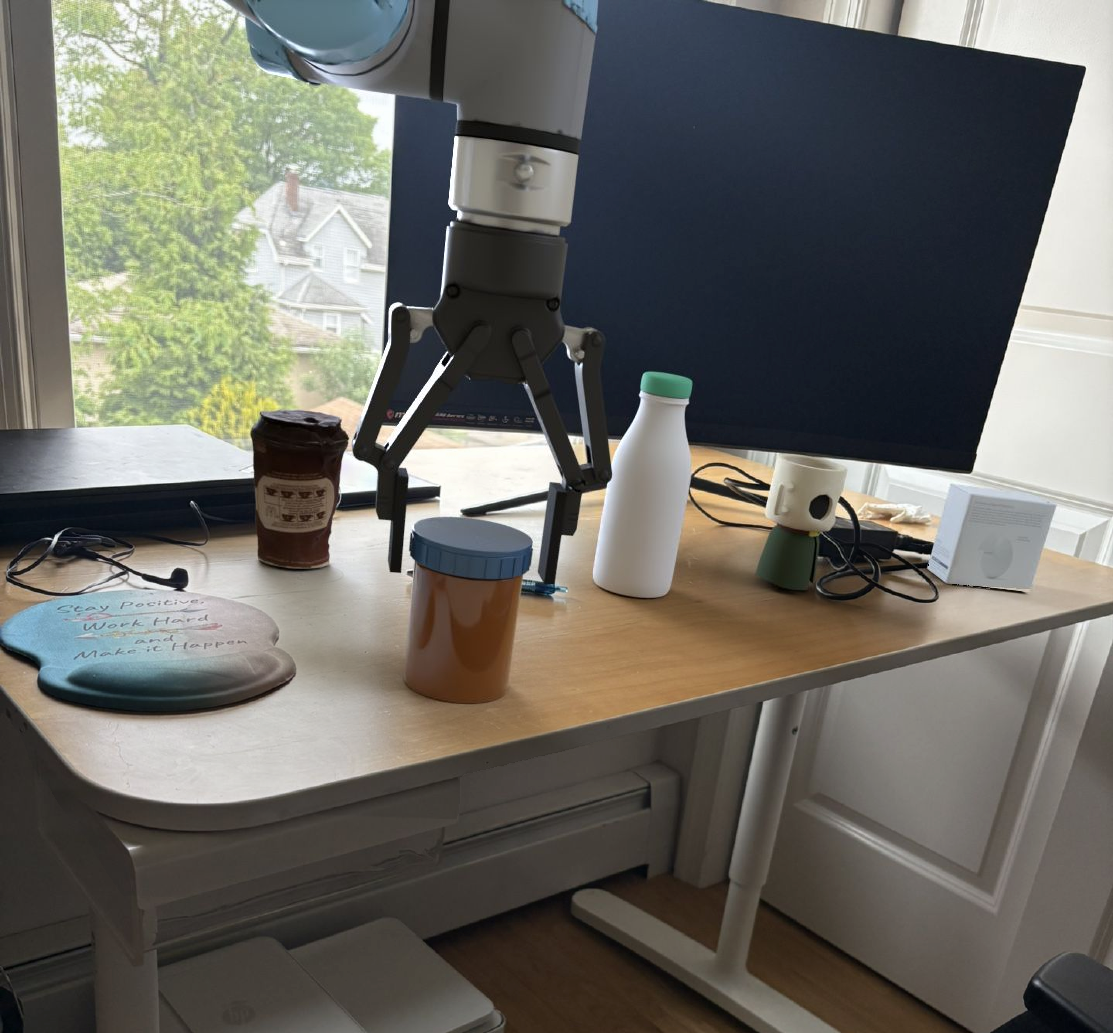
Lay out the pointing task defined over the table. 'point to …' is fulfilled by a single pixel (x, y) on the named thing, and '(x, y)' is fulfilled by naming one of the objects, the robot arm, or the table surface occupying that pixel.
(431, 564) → the jar lid
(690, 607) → the table surface
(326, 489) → the coffee cup
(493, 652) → the jar
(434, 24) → the robot arm
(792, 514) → the character mug
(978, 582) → the cosmetics box
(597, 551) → the milk bottle
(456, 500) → the table surface
